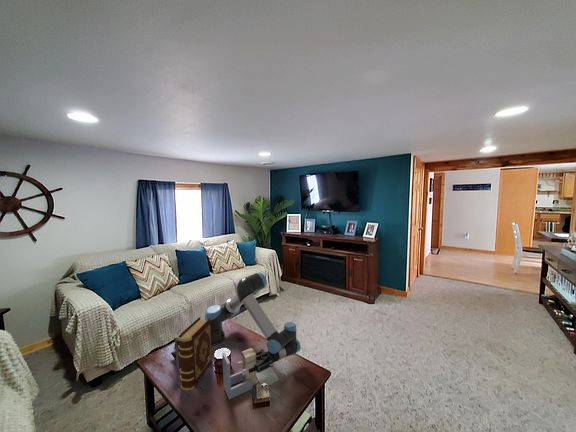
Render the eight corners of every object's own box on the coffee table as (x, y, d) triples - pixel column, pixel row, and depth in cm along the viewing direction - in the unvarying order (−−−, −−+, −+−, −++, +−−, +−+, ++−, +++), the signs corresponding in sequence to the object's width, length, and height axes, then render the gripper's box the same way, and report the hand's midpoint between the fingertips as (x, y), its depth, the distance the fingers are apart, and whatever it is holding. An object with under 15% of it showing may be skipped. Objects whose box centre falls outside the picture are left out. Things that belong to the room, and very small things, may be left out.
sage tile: (252, 370, 142) (252, 369, 142) (266, 364, 147) (266, 363, 147) (262, 387, 129) (262, 386, 129) (278, 380, 134) (278, 378, 134)
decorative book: (191, 391, 127) (188, 339, 124) (178, 389, 129) (175, 338, 126) (212, 362, 149) (210, 317, 146) (201, 360, 151) (199, 316, 148)
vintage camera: (185, 352, 160) (182, 324, 158) (194, 362, 149) (192, 332, 147) (170, 359, 153) (167, 330, 151) (178, 371, 142) (176, 340, 140)
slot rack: (223, 387, 130) (222, 353, 128) (246, 377, 137) (245, 344, 135) (229, 399, 122) (227, 363, 120) (252, 388, 129) (251, 354, 127)
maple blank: (242, 381, 134) (241, 351, 132) (252, 376, 137) (251, 347, 135) (246, 388, 129) (245, 357, 127) (256, 383, 132) (255, 353, 130)
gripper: (285, 369, 134) (247, 387, 122) (269, 350, 150) (234, 364, 138) (285, 356, 133) (246, 373, 121) (269, 339, 149) (234, 352, 137)
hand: (240, 368), depth 129 cm, fingers closed on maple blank, 6 cm apart
